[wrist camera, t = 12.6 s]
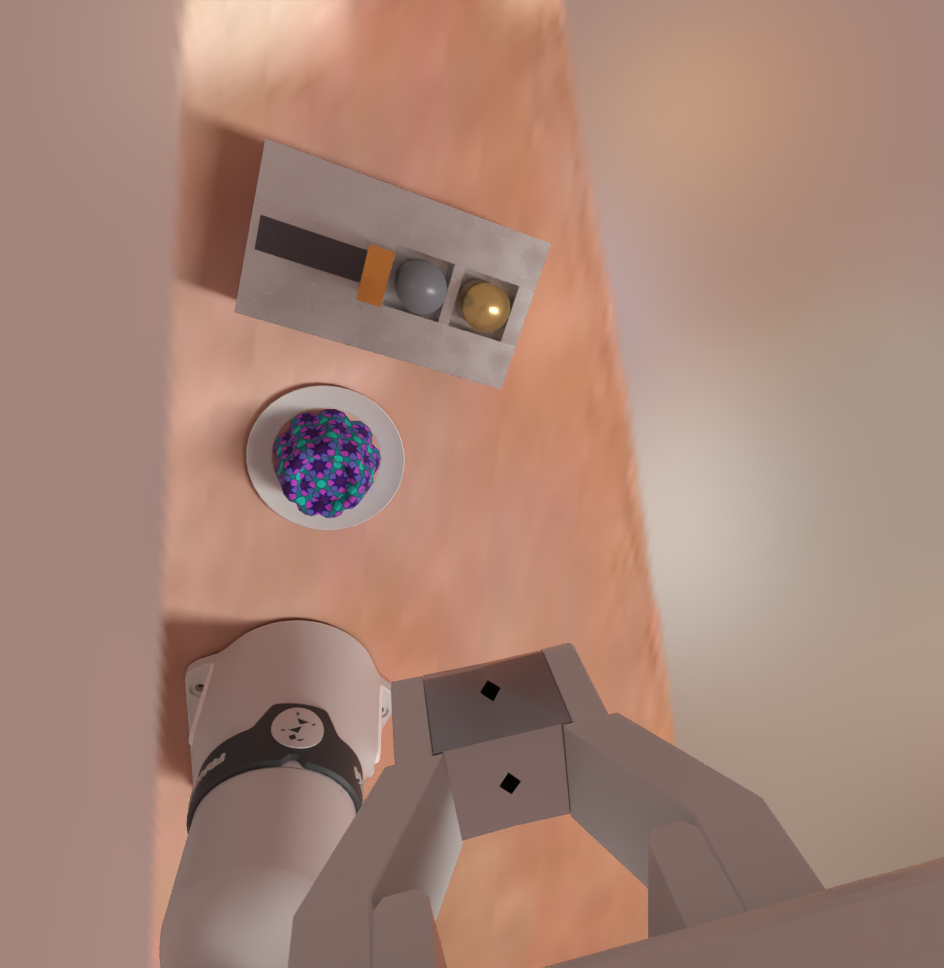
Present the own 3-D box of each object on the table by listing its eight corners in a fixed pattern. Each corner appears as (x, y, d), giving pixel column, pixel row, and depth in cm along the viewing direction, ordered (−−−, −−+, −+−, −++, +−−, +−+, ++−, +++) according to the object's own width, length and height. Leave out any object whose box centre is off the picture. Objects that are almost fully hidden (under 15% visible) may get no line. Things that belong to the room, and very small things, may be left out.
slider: (378, 297, 38) (380, 307, 33) (357, 290, 37) (356, 299, 33) (391, 249, 37) (395, 252, 32) (369, 242, 36) (369, 244, 32)
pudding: (341, 551, 50) (339, 585, 45) (215, 468, 46) (198, 496, 41) (434, 448, 48) (442, 472, 43) (312, 349, 43) (305, 364, 38)
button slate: (432, 313, 40) (438, 320, 36) (389, 299, 39) (391, 305, 36) (446, 268, 39) (453, 271, 35) (401, 252, 38) (405, 255, 35)
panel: (488, 374, 46) (501, 389, 42) (247, 303, 41) (234, 312, 37) (532, 242, 42) (551, 243, 38) (276, 147, 38) (265, 137, 33)
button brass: (491, 329, 42) (501, 337, 39) (451, 316, 41) (458, 324, 38) (504, 287, 41) (516, 292, 38) (464, 273, 40) (472, 277, 37)
